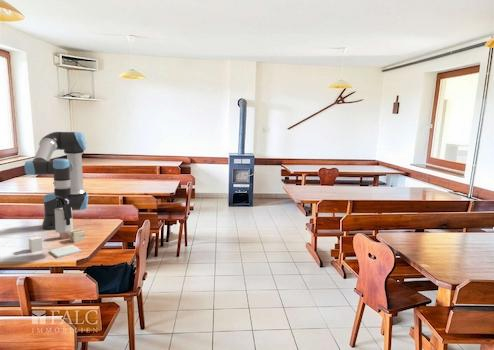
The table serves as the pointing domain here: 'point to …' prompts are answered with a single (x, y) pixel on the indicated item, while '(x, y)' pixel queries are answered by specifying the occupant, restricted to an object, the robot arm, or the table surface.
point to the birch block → (77, 235)
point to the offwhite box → (35, 244)
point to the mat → (65, 251)
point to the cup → (61, 220)
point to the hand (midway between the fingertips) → (64, 228)
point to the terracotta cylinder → (65, 235)
